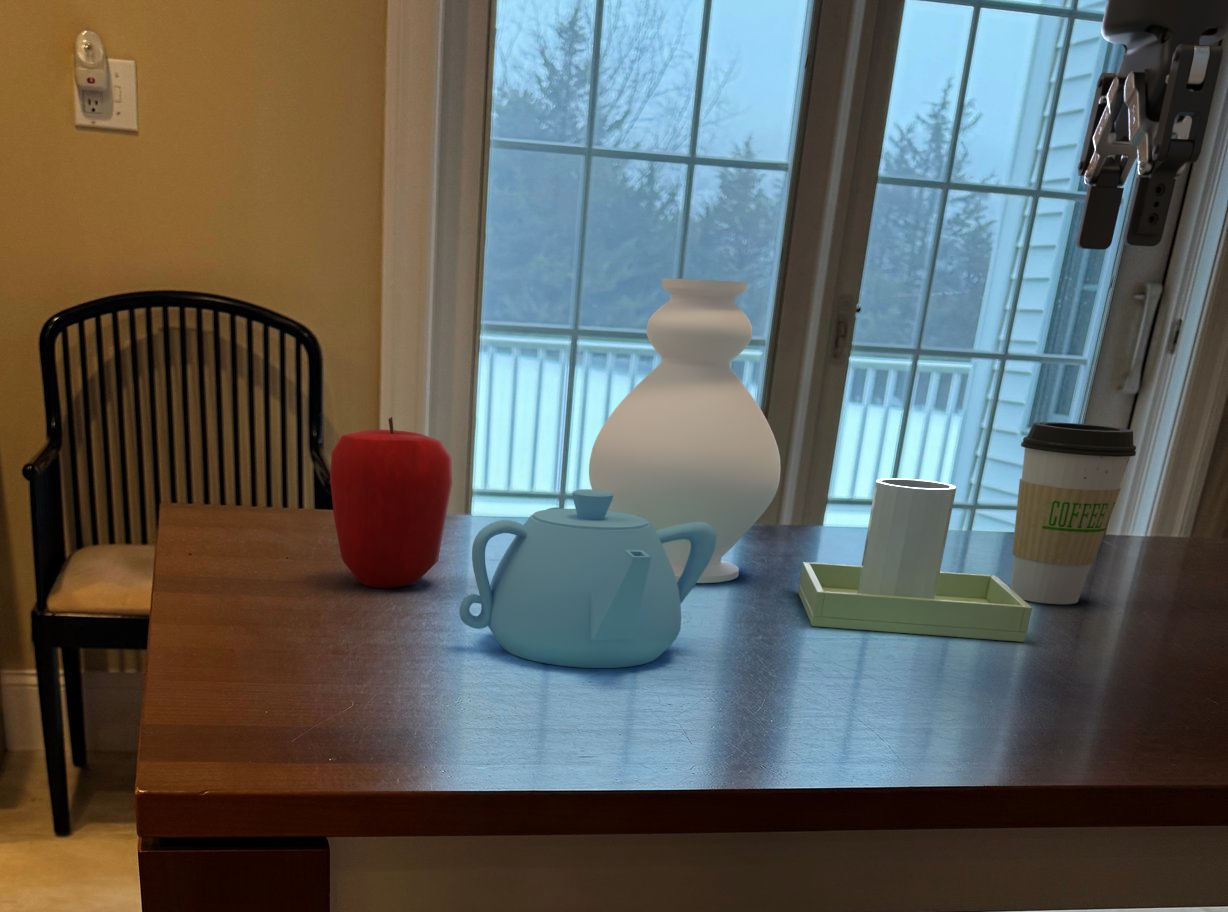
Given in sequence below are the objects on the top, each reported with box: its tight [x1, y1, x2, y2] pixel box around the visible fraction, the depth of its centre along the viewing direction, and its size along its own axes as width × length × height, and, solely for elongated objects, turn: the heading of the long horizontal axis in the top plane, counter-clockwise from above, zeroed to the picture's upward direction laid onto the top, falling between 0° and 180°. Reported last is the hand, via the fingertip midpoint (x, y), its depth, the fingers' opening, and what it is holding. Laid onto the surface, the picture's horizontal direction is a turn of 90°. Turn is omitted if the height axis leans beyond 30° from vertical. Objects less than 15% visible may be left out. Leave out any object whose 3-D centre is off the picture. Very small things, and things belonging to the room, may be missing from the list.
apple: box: [329, 416, 453, 589], centre depth 120 cm, size 10×10×14 cm
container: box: [857, 478, 957, 599], centre depth 119 cm, size 6×6×10 cm
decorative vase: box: [588, 277, 781, 584], centre depth 129 cm, size 18×18×25 cm
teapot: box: [459, 488, 717, 669], centre depth 102 cm, size 15×17×11 cm
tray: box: [797, 561, 1033, 643], centre depth 120 cm, size 17×14×3 cm
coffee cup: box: [1009, 421, 1137, 605], centre depth 129 cm, size 10×10×15 cm
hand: (1115, 247), depth 93 cm, fingers open, 8 cm apart
